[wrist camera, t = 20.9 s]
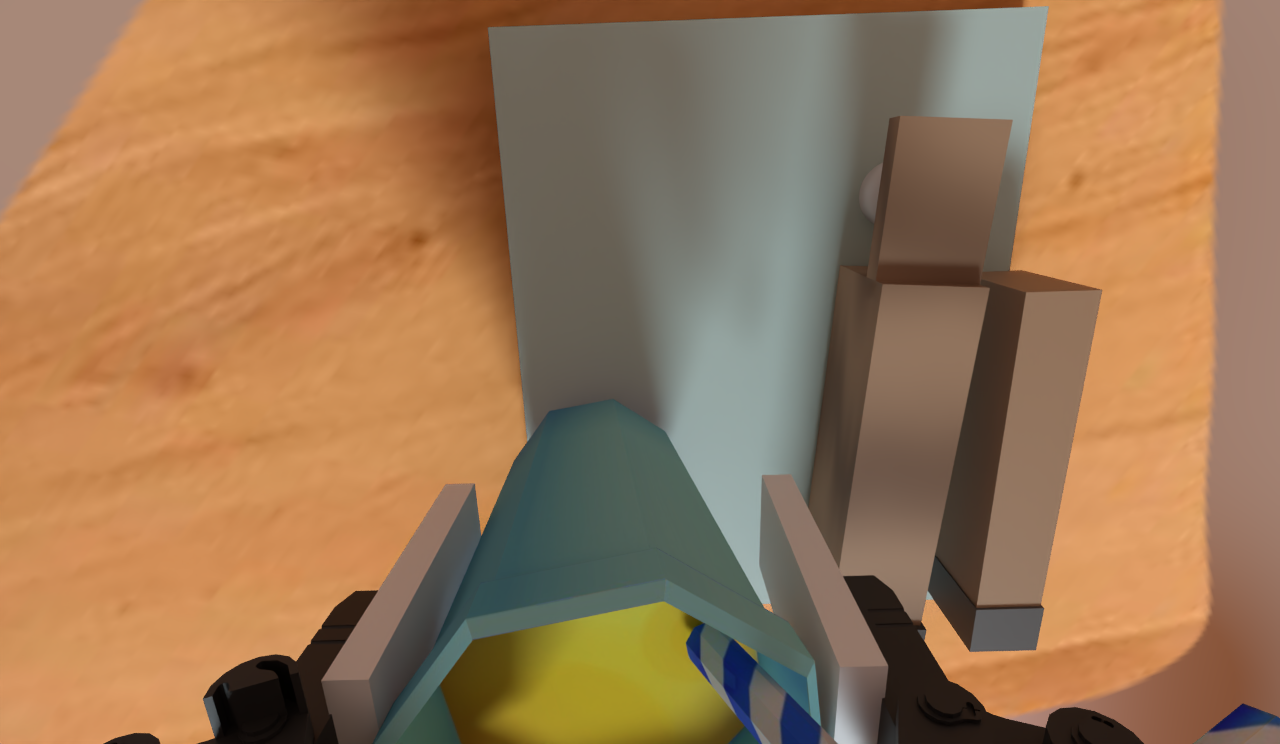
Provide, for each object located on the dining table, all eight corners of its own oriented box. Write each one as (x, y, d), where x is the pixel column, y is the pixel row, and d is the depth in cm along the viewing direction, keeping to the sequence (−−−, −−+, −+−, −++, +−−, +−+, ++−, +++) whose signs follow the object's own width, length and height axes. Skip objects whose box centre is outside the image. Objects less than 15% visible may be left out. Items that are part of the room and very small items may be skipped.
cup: (747, 239, 18) (1350, 507, 4) (857, 438, 21) (1472, 1045, 6) (367, 482, 19) (-208, 1333, 5) (513, 641, 22) (388, 1513, 8)
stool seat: (547, 589, 25) (526, 685, 20) (497, 36, 19) (449, -11, 14) (957, 578, 25) (1031, 672, 20) (1038, 16, 19) (1171, -39, 14)
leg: (855, 125, 18) (908, 112, 15) (956, 129, 18) (1033, 117, 15) (794, 592, 23) (822, 669, 19) (874, 594, 23) (917, 671, 19)
